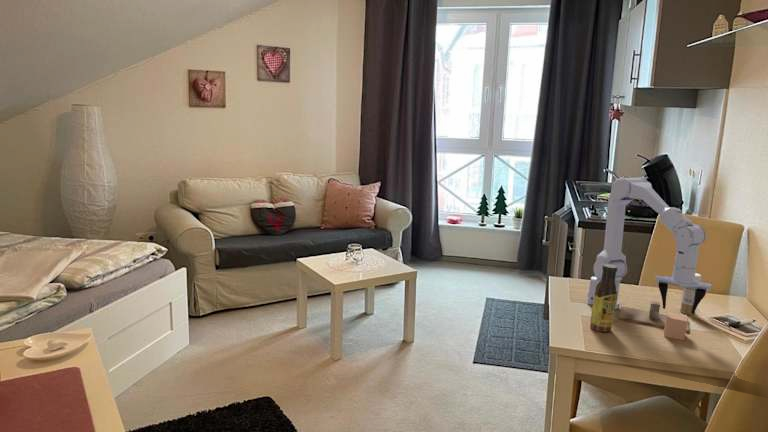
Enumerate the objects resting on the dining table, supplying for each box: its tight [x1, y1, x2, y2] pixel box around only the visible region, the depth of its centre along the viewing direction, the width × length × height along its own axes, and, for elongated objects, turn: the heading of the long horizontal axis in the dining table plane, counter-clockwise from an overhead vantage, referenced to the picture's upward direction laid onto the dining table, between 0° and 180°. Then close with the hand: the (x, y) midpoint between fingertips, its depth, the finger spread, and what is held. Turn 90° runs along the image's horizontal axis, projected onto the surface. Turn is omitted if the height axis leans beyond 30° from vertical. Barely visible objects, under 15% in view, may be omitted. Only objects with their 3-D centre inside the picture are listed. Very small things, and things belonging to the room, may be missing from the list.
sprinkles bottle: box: [679, 272, 702, 316], centre depth 195 cm, size 5×5×13 cm
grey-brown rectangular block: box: [617, 300, 690, 334], centre depth 187 cm, size 20×11×6 cm, turn 64°
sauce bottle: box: [589, 264, 617, 333], centre depth 176 cm, size 6×6×20 cm
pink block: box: [663, 311, 688, 341], centre depth 176 cm, size 5×5×6 cm
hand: (678, 310), depth 175 cm, fingers open, 7 cm apart
